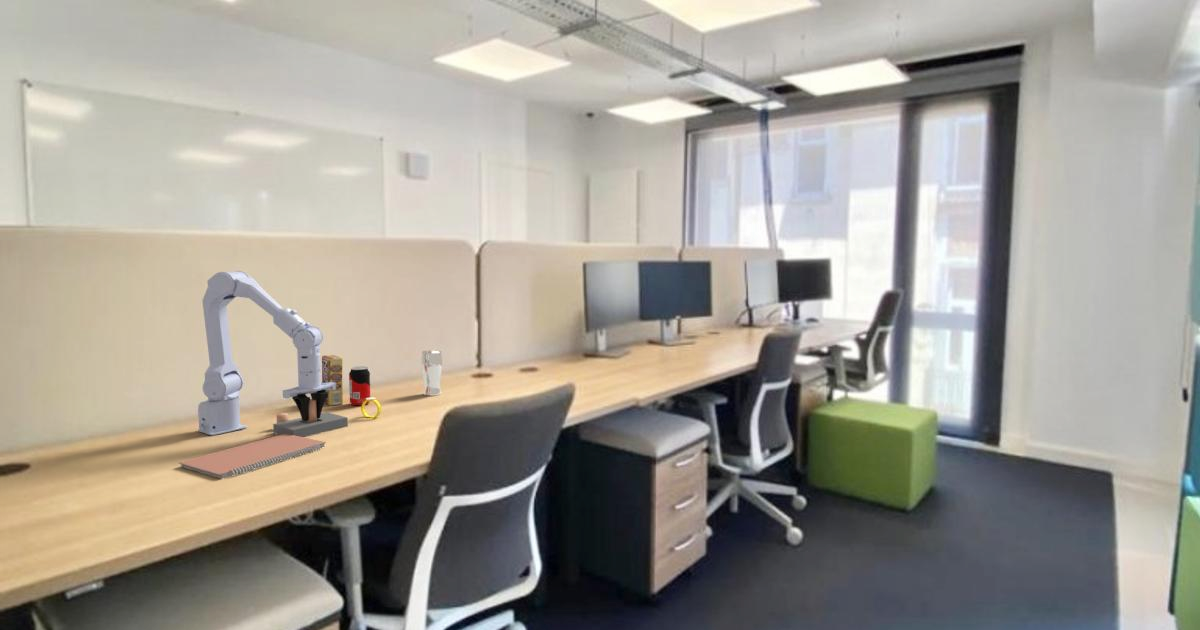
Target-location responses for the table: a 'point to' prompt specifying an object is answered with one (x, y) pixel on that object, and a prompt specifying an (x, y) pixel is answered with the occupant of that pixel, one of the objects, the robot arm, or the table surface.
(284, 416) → the short pin
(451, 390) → the table surface
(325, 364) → the candy box
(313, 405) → the long pin
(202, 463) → the notebook
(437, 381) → the beer glass
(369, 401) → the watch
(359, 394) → the beverage can
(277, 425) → the hole board
